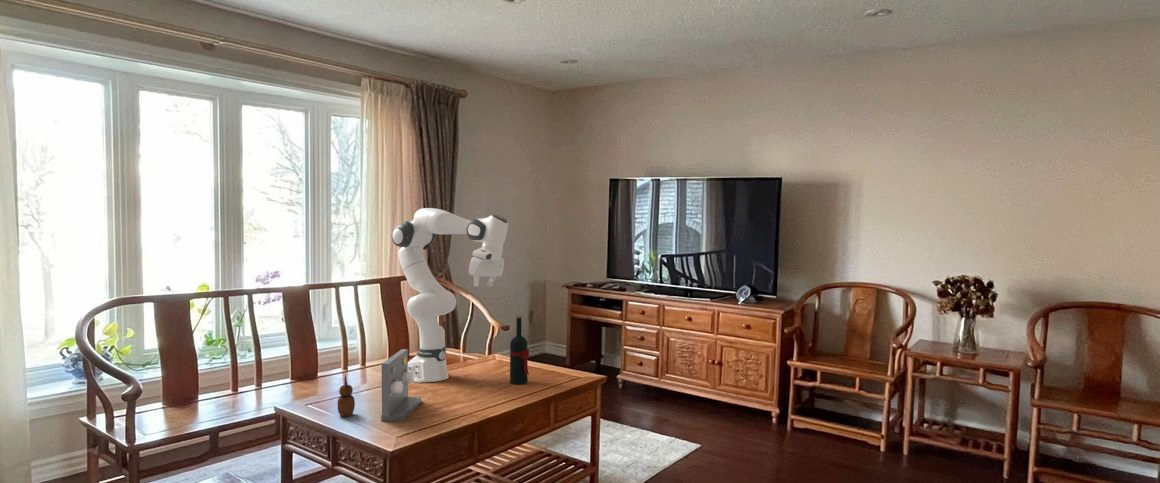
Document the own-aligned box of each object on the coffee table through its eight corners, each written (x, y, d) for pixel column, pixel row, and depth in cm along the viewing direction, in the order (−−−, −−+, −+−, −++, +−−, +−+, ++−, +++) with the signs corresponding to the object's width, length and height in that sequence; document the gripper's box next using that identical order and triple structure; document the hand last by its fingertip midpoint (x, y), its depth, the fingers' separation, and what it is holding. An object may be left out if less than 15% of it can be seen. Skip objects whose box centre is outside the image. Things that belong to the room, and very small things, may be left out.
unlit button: (403, 391, 245) (403, 380, 245) (399, 395, 241) (399, 383, 241) (394, 391, 245) (394, 379, 245) (390, 394, 241) (390, 383, 241)
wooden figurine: (340, 412, 248) (340, 373, 247) (356, 412, 248) (356, 373, 248) (335, 418, 241) (335, 377, 240) (351, 418, 242) (351, 377, 241)
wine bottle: (520, 386, 285) (520, 318, 283) (506, 382, 292) (506, 315, 291) (534, 383, 290) (534, 316, 289) (520, 379, 298) (520, 313, 296)
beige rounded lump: (413, 381, 259) (413, 370, 259) (410, 384, 255) (410, 373, 255) (405, 381, 259) (405, 370, 259) (402, 384, 255) (402, 373, 255)
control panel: (421, 401, 262) (420, 349, 261) (403, 421, 238) (402, 364, 237) (401, 401, 263) (400, 349, 262) (381, 421, 239) (380, 363, 238)
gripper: (498, 253, 285) (490, 284, 286) (470, 251, 266) (462, 284, 267) (510, 257, 282) (502, 288, 283) (482, 255, 264) (474, 288, 264)
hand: (482, 286), depth 275 cm, fingers open, 8 cm apart
